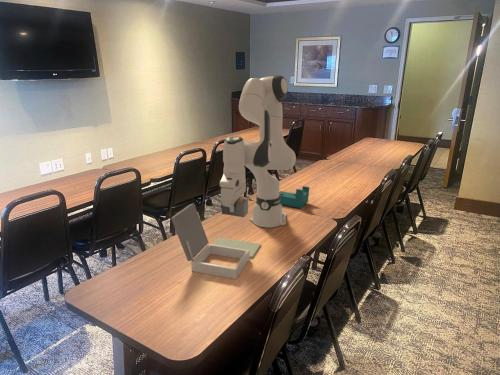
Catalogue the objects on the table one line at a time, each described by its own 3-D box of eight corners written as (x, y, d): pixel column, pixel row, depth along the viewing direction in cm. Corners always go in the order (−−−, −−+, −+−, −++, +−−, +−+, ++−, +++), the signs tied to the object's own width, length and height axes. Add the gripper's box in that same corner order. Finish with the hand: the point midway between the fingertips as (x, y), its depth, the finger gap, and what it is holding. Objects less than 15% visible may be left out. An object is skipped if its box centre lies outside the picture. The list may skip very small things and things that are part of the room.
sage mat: (218, 239, 162) (218, 237, 162) (260, 245, 156) (260, 243, 156) (207, 250, 151) (207, 249, 151) (252, 258, 145) (252, 256, 145)
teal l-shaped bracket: (307, 204, 209) (309, 187, 206) (300, 208, 200) (302, 190, 197) (280, 198, 218) (281, 182, 215) (272, 202, 208) (273, 185, 206)
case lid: (208, 242, 149) (205, 243, 149) (193, 203, 145) (190, 203, 146) (191, 260, 134) (187, 261, 135) (174, 217, 131) (170, 218, 131)
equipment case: (204, 251, 151) (203, 224, 147) (249, 258, 145) (249, 231, 141) (186, 270, 136) (185, 241, 132) (235, 279, 130) (235, 249, 127)
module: (226, 209, 153) (226, 196, 150) (247, 213, 149) (247, 199, 147) (221, 213, 149) (221, 199, 147) (243, 217, 145) (243, 203, 143)
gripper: (235, 169, 154) (236, 199, 158) (217, 184, 135) (218, 217, 140) (249, 171, 152) (249, 201, 157) (233, 185, 134) (233, 219, 138)
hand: (234, 208), depth 148 cm, fingers closed on module, 5 cm apart
